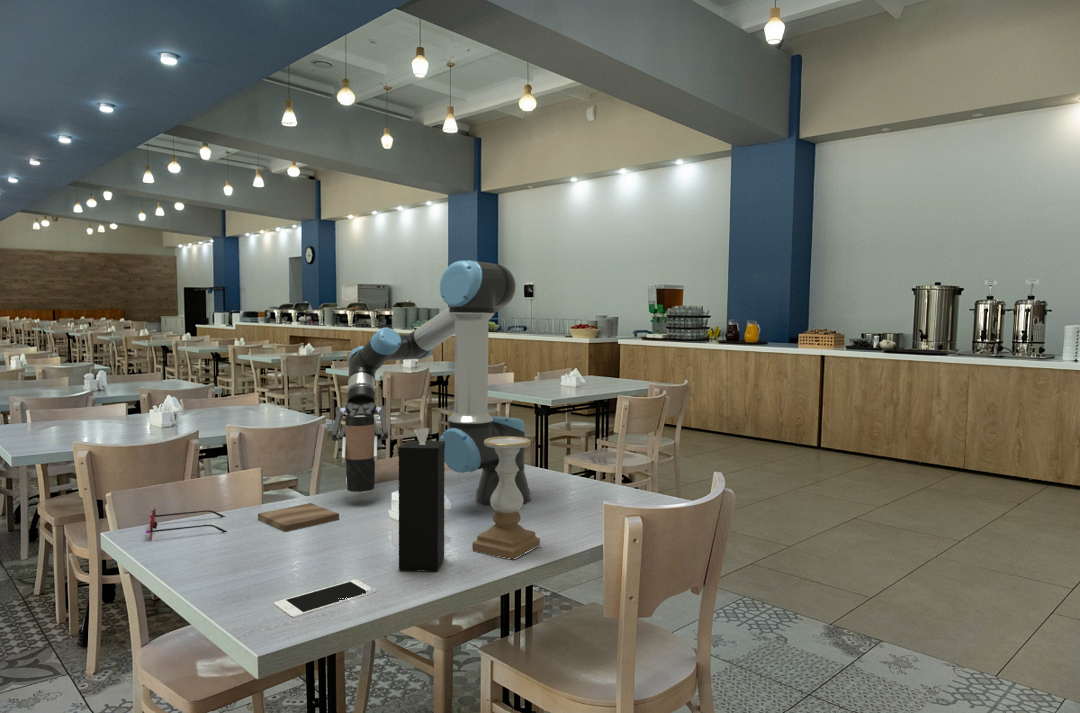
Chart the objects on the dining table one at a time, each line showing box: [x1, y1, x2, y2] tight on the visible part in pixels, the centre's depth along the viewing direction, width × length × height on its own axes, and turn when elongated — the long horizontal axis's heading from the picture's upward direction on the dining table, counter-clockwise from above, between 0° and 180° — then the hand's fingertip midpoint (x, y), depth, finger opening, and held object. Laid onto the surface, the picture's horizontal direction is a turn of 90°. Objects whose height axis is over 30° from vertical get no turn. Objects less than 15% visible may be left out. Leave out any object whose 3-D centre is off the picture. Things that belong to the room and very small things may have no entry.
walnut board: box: [257, 502, 340, 533], centre depth 170 cm, size 14×14×2 cm
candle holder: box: [471, 436, 541, 559], centre depth 149 cm, size 11×11×24 cm
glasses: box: [145, 508, 228, 541], centre depth 162 cm, size 14×16×5 cm
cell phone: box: [273, 579, 375, 618], centre depth 123 cm, size 8×16×1 cm, turn 134°
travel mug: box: [344, 413, 376, 493], centre depth 185 cm, size 8×8×20 cm
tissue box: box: [397, 427, 445, 572], centre depth 139 cm, size 8×8×28 cm
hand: (359, 459), depth 181 cm, fingers closed on travel mug, 7 cm apart
